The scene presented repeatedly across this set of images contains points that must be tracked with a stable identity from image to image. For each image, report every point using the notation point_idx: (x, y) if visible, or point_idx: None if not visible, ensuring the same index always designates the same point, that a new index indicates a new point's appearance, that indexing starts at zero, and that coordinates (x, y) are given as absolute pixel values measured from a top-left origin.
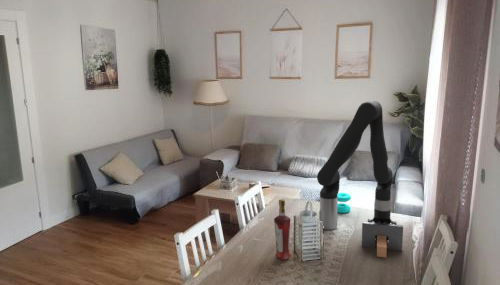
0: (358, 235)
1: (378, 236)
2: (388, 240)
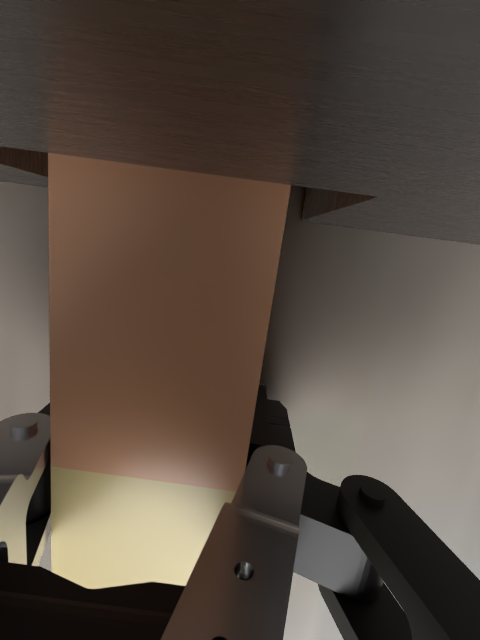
0: (462, 512)
1: (254, 211)
2: (34, 163)
